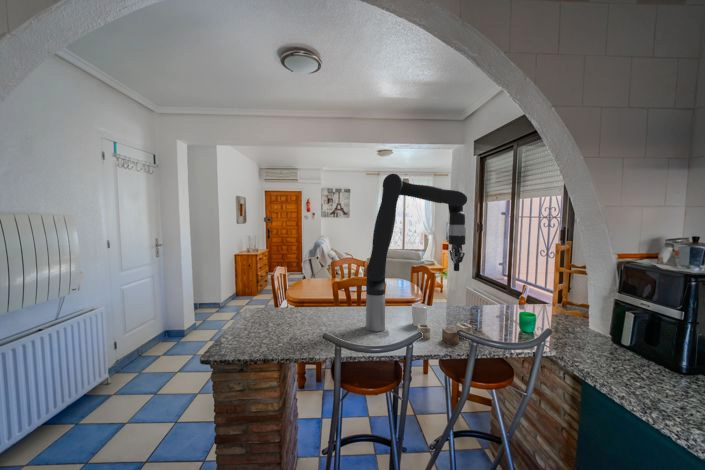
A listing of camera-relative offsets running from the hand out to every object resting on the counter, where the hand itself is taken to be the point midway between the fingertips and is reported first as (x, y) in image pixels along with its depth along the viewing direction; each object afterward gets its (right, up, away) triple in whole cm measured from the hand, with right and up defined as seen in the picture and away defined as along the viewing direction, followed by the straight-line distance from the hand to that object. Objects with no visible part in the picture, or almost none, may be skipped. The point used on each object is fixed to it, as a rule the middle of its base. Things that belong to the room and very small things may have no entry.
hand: (456, 270), depth 132 cm
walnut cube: (-7, -29, -11) cm, 32 cm away
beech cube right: (+2, -29, -4) cm, 30 cm away
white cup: (-15, -29, +10) cm, 34 cm away
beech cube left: (-17, -29, -5) cm, 34 cm away
